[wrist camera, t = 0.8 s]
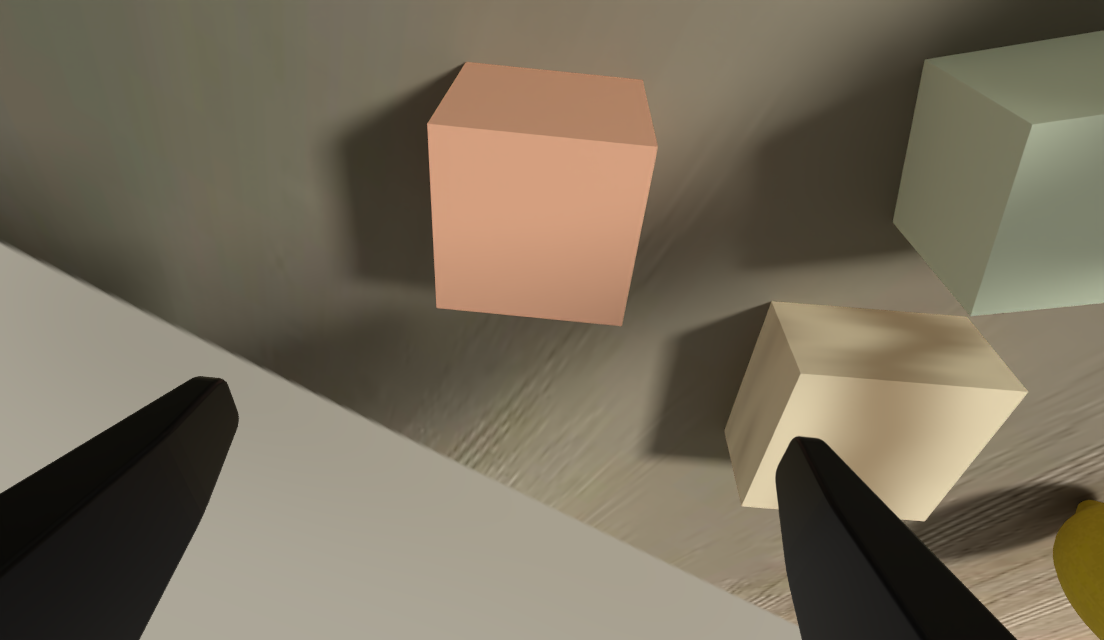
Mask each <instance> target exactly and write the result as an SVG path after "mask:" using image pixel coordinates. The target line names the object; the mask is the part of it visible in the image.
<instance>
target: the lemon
mask: <svg viewBox="0 0 1104 640" xmlns="http://www.w3.org/2000/svg"><path fill="white" fill-rule="evenodd" d="M1053 560H1054V566H1055V569H1056V572H1057V576H1058V579H1059V582H1060V584H1061V586H1062V589H1063V591H1064V593H1065V595H1066V597H1067V598H1068V600H1069V602H1070V603H1071V605H1072V607H1073V608H1074V609H1075V611H1076V612H1077V614H1078V615H1079V616H1080V617H1081V619H1082V620H1083V621H1084V622H1085V624H1086V625H1087V626H1088V627H1089V628H1090V629H1091V630H1092V631H1093V633H1094V634H1095V635H1096V636H1097V637H1098V638H1099V639H1100V640H1104V503H1101V502H1098V501H1094V500H1085V501H1082V502H1081V503H1079V504H1078V507H1077V509H1076V512H1075V514H1074V515H1073V516H1071V517H1070V518H1069V519H1068V520H1067V521H1066V522H1065V523H1064V524H1063V525H1062V527H1061V528H1060V529H1059V531H1058V533H1057V535H1056V539H1055V542H1054V547H1053Z"/></svg>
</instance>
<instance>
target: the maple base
mask: <svg viewBox="0 0 1104 640" xmlns="http://www.w3.org/2000/svg"><path fill="white" fill-rule="evenodd" d="M1027 393H1028V391H1027V390H1026V389H1025V387H1024V386H1023V385H1022V384H1021V383H1020V381H1019V380H1018V379H1017V378H1016V376H1015V375H1014V374H1013V373H1012V372H1011V370H1010V369H1009V368H1008V367H1007V365H1006V364H1005V363H1004V362H1003V361H1002V359H1001V358H1000V357H999V356H998V354H997V353H996V352H995V351H994V349H993V348H992V347H991V346H990V345H989V343H988V342H987V341H986V340H985V338H984V337H983V336H982V335H981V334H980V332H979V331H978V330H977V329H976V327H975V326H974V325H973V324H972V323H971V321H970V320H969V319H968V318H967V317H963V316H950V315H938V314H925V313H913V312H900V311H888V310H875V309H862V308H850V307H837V306H825V305H812V304H800V303H787V302H775V301H771V304H770V307H769V310H768V312H767V315H766V318H765V320H764V323H763V326H762V329H761V331H760V334H759V337H758V340H757V342H756V345H755V348H754V351H753V353H752V356H751V359H750V361H749V364H748V367H747V370H746V372H745V375H744V378H743V381H742V383H741V386H740V389H739V392H738V394H737V397H736V400H735V403H734V405H733V408H732V411H731V413H730V416H729V419H728V422H727V424H726V427H725V430H724V432H725V437H726V441H727V445H728V450H729V454H730V458H731V463H732V467H733V471H734V476H735V480H736V484H737V489H738V493H739V498H740V502H741V506H745V507H757V508H770V509H779V508H778V500H777V492H776V483H775V475H776V469H777V467H778V464H779V462H780V461H781V459H782V457H783V455H784V453H785V451H786V449H787V447H788V445H789V443H790V442H791V440H792V439H793V438H794V437H796V436H803V437H813V438H819V439H821V440H823V441H824V442H826V443H827V444H828V445H829V446H830V447H831V448H832V450H833V451H834V452H835V453H836V454H837V455H838V456H839V457H840V458H841V459H842V460H843V461H844V462H845V463H846V464H847V465H848V466H849V467H850V468H851V469H852V470H853V471H854V472H855V473H856V474H857V475H858V476H859V477H860V478H861V479H862V480H863V481H864V482H865V483H866V485H867V486H868V487H869V488H870V489H871V490H872V491H873V492H874V493H875V494H876V495H877V496H878V497H879V498H880V499H881V500H882V501H883V502H884V503H885V504H886V505H887V506H888V507H889V508H890V509H891V510H892V511H893V512H894V513H895V514H896V515H897V516H898V517H899V518H900V519H903V520H915V521H925V520H926V519H927V518H928V516H929V515H930V514H931V513H932V511H933V510H934V509H935V508H936V506H937V505H938V504H939V503H940V501H941V500H942V499H943V498H944V496H945V495H946V494H947V493H948V491H949V490H950V489H951V488H952V486H953V485H954V484H955V483H956V481H957V480H958V479H959V478H960V476H961V475H962V474H963V473H964V471H965V470H966V469H967V468H968V466H969V465H970V464H971V463H972V461H973V460H974V459H975V458H976V456H977V455H978V454H979V453H980V452H981V450H982V449H983V448H984V447H985V445H986V444H987V443H988V442H989V440H990V439H991V438H992V437H993V435H994V434H995V433H996V432H997V430H998V429H999V428H1000V427H1001V425H1002V424H1003V423H1004V422H1005V420H1006V419H1007V418H1008V417H1009V415H1010V414H1011V413H1012V412H1013V410H1014V409H1015V408H1016V407H1017V405H1018V404H1019V403H1020V402H1021V400H1022V399H1023V398H1024V397H1025V395H1026V394H1027Z"/></svg>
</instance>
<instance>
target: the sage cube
mask: <svg viewBox="0 0 1104 640" xmlns="http://www.w3.org/2000/svg"><path fill="white" fill-rule="evenodd" d="M893 223H894V225H895V226H896V227H897V228H898V229H899V231H900V232H901V233H902V234H903V235H904V237H905V238H906V239H907V240H908V241H909V243H910V244H911V245H912V246H913V247H914V249H915V250H916V251H917V252H918V254H919V255H920V256H921V257H922V258H923V260H924V261H925V262H926V263H927V264H928V266H929V267H930V268H931V269H932V270H933V272H934V273H935V274H936V275H937V276H938V278H939V279H940V280H941V281H942V283H943V284H944V285H945V286H946V287H947V289H948V290H949V291H950V292H951V293H952V295H953V296H954V297H955V298H956V299H957V301H958V302H959V303H960V304H961V305H962V307H963V308H964V309H965V310H966V312H967V313H968V314H969V315H970V316H978V315H988V314H998V313H1008V312H1018V311H1028V310H1038V309H1048V308H1058V307H1068V306H1078V305H1088V304H1098V303H1104V31H1098V32H1091V33H1085V34H1079V35H1073V36H1067V37H1061V38H1054V39H1048V40H1042V41H1036V42H1030V43H1024V44H1017V45H1011V46H1005V47H999V48H993V49H987V50H980V51H974V52H968V53H962V54H956V55H949V56H943V57H937V58H931V59H925V61H924V66H923V71H922V76H921V81H920V86H919V91H918V96H917V101H916V106H915V111H914V116H913V121H912V127H911V132H910V137H909V142H908V147H907V152H906V157H905V162H904V167H903V172H902V177H901V182H900V187H899V192H898V198H897V203H896V208H895V213H894V218H893Z"/></svg>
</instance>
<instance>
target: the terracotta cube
mask: <svg viewBox="0 0 1104 640" xmlns="http://www.w3.org/2000/svg"><path fill="white" fill-rule="evenodd" d="M427 128H428V148H429V168H430V188H431V208H432V227H433V247H434V267H435V287H436V306H437V308H442V309H452V310H463V311H473V312H483V313H493V314H503V315H513V316H524V317H534V318H544V319H554V320H564V321H575V322H585V323H595V324H605V325H615V326H622V323H623V318H624V313H625V308H626V303H627V298H628V293H629V288H630V283H631V278H632V273H633V268H634V263H635V258H636V253H637V248H638V243H639V238H640V233H641V228H642V223H643V218H644V213H645V209H646V204H647V199H648V194H649V189H650V184H651V179H652V174H653V169H654V164H655V159H656V154H657V149H658V145H657V141H656V137H655V132H654V128H653V124H652V119H651V115H650V110H649V106H648V102H647V97H646V93H645V89H644V84H643V80H638V79H628V78H618V77H608V76H599V75H589V74H579V73H569V72H559V71H549V70H540V69H530V68H520V67H510V66H500V65H490V64H480V63H471V62H466V63H465V64H464V66H463V67H462V69H461V71H460V72H459V74H458V75H457V77H456V79H455V80H454V82H453V83H452V85H451V87H450V88H449V90H448V91H447V93H446V95H445V96H444V98H443V99H442V101H441V103H440V104H439V106H438V107H437V109H436V111H435V112H434V114H433V115H432V117H431V119H430V120H429V122H428V123H427Z"/></svg>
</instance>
